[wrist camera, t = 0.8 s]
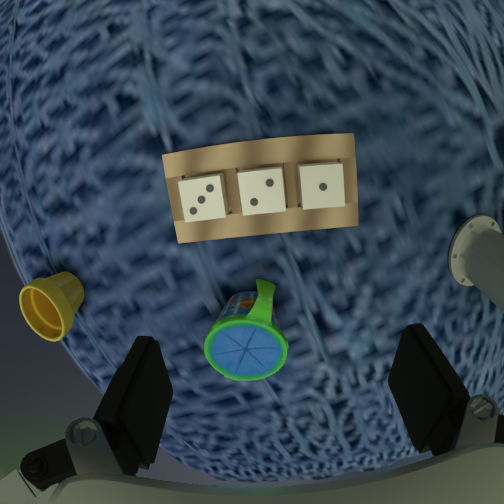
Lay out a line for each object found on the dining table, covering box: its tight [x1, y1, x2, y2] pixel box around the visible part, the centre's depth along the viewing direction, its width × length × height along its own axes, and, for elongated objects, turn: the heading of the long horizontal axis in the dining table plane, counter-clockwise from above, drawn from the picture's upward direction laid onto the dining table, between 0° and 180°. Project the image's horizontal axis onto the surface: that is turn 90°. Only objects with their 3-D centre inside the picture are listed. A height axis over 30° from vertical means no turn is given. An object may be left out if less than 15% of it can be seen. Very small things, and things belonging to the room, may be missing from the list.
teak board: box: [162, 133, 358, 243], centre depth 37 cm, size 24×12×2 cm, turn 97°
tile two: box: [237, 166, 286, 216], centre depth 34 cm, size 5×5×3 cm
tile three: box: [178, 173, 229, 223], centre depth 35 cm, size 5×5×3 cm
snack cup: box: [204, 279, 289, 381], centre depth 40 cm, size 16×10×10 cm
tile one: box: [297, 162, 345, 210], centre depth 34 cm, size 5×5×3 cm
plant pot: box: [19, 272, 84, 341], centre depth 41 cm, size 10×10×10 cm
